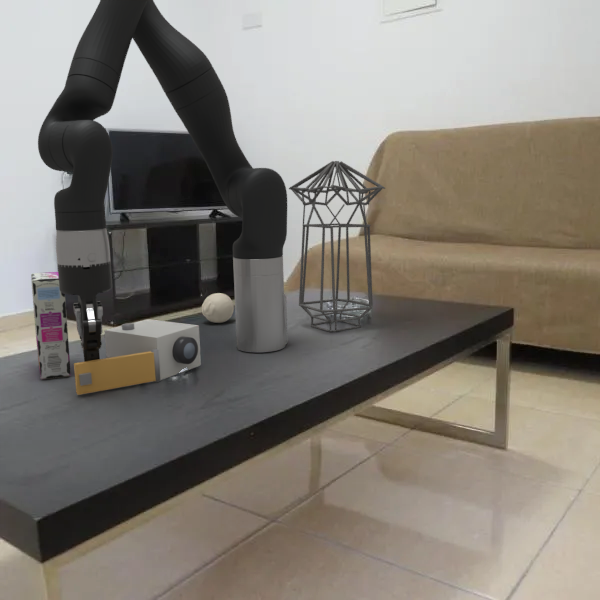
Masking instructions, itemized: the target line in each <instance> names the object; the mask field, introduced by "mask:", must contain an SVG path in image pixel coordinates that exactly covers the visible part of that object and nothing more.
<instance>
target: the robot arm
mask: <svg viewBox="0 0 600 600" xmlns="http://www.w3.org/2000/svg"><path fill="white" fill-rule="evenodd" d="M132 39H133V40H132ZM132 41H134V43H135V44H136V46H137V48H138V49H139V52H140V53H141V54H142V56H143V57H144V59H145V60H146V63H147V65H148V66H149V68H150V69H151V72H152V73H153V74H154V76H155V78H156V79H157V81H158V83H159V85H160V87H161V88H162V91H163V92H164V94H165V96H166V97H167V99H168V101H169V103H170V105H171V107H173V109H174V112H175V113H176V115H177V116H178V118H179V119H180V121H181V122H182V124H183V125H184V128H185V130H186V131H187V133H188V134H189V137H190V138H191V140H192V142H193V143H194V145H195V146H196V148H197V150H198V151H199V153H200V154H201V157H202V158H203V160H204V162H205V164H206V166H207V168H208V170H209V172H210V174H211V177H212V179H213V181H214V183H215V185H216V187H217V189H218V192H219V194H220V196H221V199H222V201H223V202H224V205H225V206H226V207H227V209H228V210H229V211H230V213H232V214H233V215H234V216H235V217H238V218H241V219H242V224H241V227H242V228H241V233H240V236H239V238H237V239H236V240H234V242H233V244H232V260H233V261H232V262H233V263H232V264H233V283H234V287H233V288H234V290H233V291H234V310H235V311H234V312H235V313H234V314H235V335H236V336H235V337H236V349H238V351H241V352H247V353H269V352H276V351H280V350H282V349H284V348H286V345H287V344H288V341H289V340H288V317H287V316H288V312H287V311H288V310H287V307H288V306H287V305H288V304H287V295H286V294H285V281H284V245H285V243H286V240H287V236H288V235H287V234H288V233H287V232H288V194H287V193H288V192H287V187H286V184H285V182H284V181H285V180H284V179H283V177H282V176H281V175H280V174H279V173H278V172H277V171H276V170H274V169H273V168H268V167H256V168H255V167H252V165H251V163H250V162H249V161H248V159H247V157H246V155H245V154H244V152H243V150H242V149H241V147H240V145H239V143H238V140H237V138H236V135H235V132H234V127H233V121H232V120H233V119H232V113H231V107H230V102H229V97H228V95H227V92H226V90H225V87H224V85H223V83H222V81H221V79H220V78H219V76H218V74H217V71H216V70H215V68H214V67H213V65H212V63H211V61H210V59H209V58H208V56H207V55H206V53H204V52H203V51H202V50H201V49H200V48H199V47H198V46H197V45H196V44H195V43H193V42H192V41H191V40H190V39H189V38H187V37H186V36H185V35H184V34H182V33H181V32H180V31H179V30H177V28H175V27H174V26H173V25H172V24H171V23H170V22H169V21H168V20H167V19H166V18H165V17H164V15H163V14H162V13H161V11H160V10H159V8H158V7H157V5H156V3H155V1H154V0H99V3H98V5H97V7H96V8H95V11H94V13H93V15H92V16H91V17H90V20H89V22H88V24H87V26H86V27H85V30H83V33H82V35H81V37H80V39H79V41H78V43H77V46H76V48H75V51H74V54H73V56H72V59H71V62H70V67H69V68H68V69H69V70H68V73H67V77H66V80H65V84H64V85H65V86H64V88H63V89H62V91H61V92H60V93H59V95H58V97H57V98H56V99H55V101H54V103H53V105H52V106H51V108H50V109H49V111H48V113H47V115H46V116H45V118H44V121H43V122H42V124H41V127H40V130H39V132H38V138H37V148H38V154H39V156H40V158H41V161H42V162H43V163H44V165H46V167H49V168H50V169H51V170H54V171H59V172H72V177H71V181H70V184H69V186H68V187H65V188H63V189H61V190H59V191H57V192H56V193H55V194H54V199H53V206H54V218H55V219H54V220H55V229H56V232H55V233H56V238H55V250H56V251H55V252H56V261H57V262H56V264H57V272H58V277H59V288H60V291H61V292H62V293H63V294H65V295H69V296H76V295H77V301H78V302H74V303H73V304H72V305H73V307H72V308H73V313H74V316H75V322H76V331H77V333H78V336H79V339H80V346H81V349H82V351H83V362H85V361H92V360H98V359H101V357H100V350H101V348H102V344H103V343H102V334H103V322H102V321H103V320H102V317H103V316H104V309H103V304H102V303H101V300H99V301H98V299H97V296H98V294H101V293H106V292H109V291H110V290H112V288H113V278H112V277H113V276H112V266H111V265H112V263H111V251H110V249H111V248H110V240H109V236H108V231H107V230H108V229H107V220H106V218H107V217H106V207H105V199H106V194H107V191H108V185H109V179H110V175H111V169H112V163H113V157H114V156H113V152H114V149H113V144H112V140H111V136H110V134H109V133H108V130H107V129H106V127H104V126H103V124H102V123H100V122H98V121H96V119H98V118H100V117H102V116H105V115H107V114H108V113H110V111H111V109H112V107H113V106H114V101H115V99H116V96H117V95H116V94H117V90H118V88H119V83H120V80H121V76H122V71H123V69H124V66H125V62H126V58H127V55H128V52H129V49H130V45H131V42H132Z"/></svg>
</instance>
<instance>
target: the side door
mask: <svg viewBox="0 0 600 600" xmlns="http://www.w3.org/2000/svg"><path fill="white" fill-rule="evenodd" d="M73 369H74V379H75V380H74V383H75V393H76V394H77V395H78V396H80V395H86V394H90V393H96V392H103V391H107V390H113V389H118V388H124V387H129V386H135V385H139V384H140V385H141V384H146V383H151V382H153V383H158V382H161V381H162V380H160V364H159V350H158V349H153V350H151V351H149V352H143V353H136V354H130V355H123V356H117V357H111V358H105V357H104V358H100V359H98V360H92V361H85V362H84V361H81V362H75V363H73Z"/></svg>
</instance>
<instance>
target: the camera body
mask: <svg viewBox="0 0 600 600" xmlns="http://www.w3.org/2000/svg"><path fill="white" fill-rule="evenodd" d="M103 331H104V342H105V344H104V345H105V356H106V358H111V357H117V356H123V355H130V354H136V353H143V352H149V351H151V350H153V349H158V350H159V364H160V380H161V381H162V380H165V379H167V378H170V377H173V376H175V375H178V374H177V373H179V372H180V371H181V370H182V369H184V368H186V367H187V368H188V369H189V370H193V369H195V368H198V367H201V365H202V363H201V362H202V361H201V343H200V341H201V340H200V325H197V324H189V323H184V322H183V323H181V322H174V321H166V320H165V321H164V320H156V319H150V318H147V319H143V320H140V321H135V322H126V323H125V322H124V323H123V324H121V325H119V326H115V327H112V328H108V329H105V330H103ZM179 374H180V373H179Z"/></svg>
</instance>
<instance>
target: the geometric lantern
mask: <svg viewBox="0 0 600 600" xmlns="http://www.w3.org/2000/svg"><path fill="white" fill-rule="evenodd" d="M355 175H356V176H358V177H359V178H362V179H363V180H365V181H366V182H369V183H370V184H371V185H374V186H373V187H367V186H365V185H364V184H363V183H362V182H361V181H360V180H359V179H358V178H357V177H356V176H355ZM336 176H337V177H336ZM345 177H346V178H347V180H348V181H349V183H351V185H352V186H353V187H354V188H350V187H349V186H348V184H347V180H346V179H345ZM313 178H314V179H313ZM332 178H333V180H332ZM336 178H337V182H338V185H336V184H335V181H336ZM311 179H312V181H311V182H310V183H309V184H308V185H307V186H305V187H300V186H302V185H303V184H305V183H306V182H308V181H310V180H311ZM326 185H327V186H326ZM324 189H325V190H324ZM383 189H384V190H385V189H386V187H385V186H383V185H381V184H380V183H379V182H376V181H375V180H373V179H372V178H370V177H368V176H367V175H365V174H363V173H362V172H360V171H358V170H357V169H354V168H353V167H352V166H350V165H348V164H346V162H343V161H341V160H335V161H334V160H332V161H330V162H329V163H327V164H326V165H324V166H322V167H321V168H319V169H317V170H316V171H314V172H313V173H311V174H309V175H308V176H306V177H305V178H303V179H301V180H299V181H298V182H296V183H295V184H293V185H292V186H290V187H289V188H288V190H291V191H292V192H293V194H294V195H295V196H296V197H297V198H298V200H300V202H301V203H302V206H303V212H302V213H303V214H302V215H303V216H302V232H301V234H302V235H301V236H302V237H301V256H300V274H299V275H300V277H299V292H298V293H299V295H298V296H299V298H298V306H299V307H301V309H303V311H304V312H305V313H306V314H307V315H308V316H310V327H311V328H315V329H318V330H322V331H325V332H329V333H337V332H341V331H342V332H343V331H347V330H348V331H349V330H352V329H359V328H361V327H362V326H361V319H362V318H363V317H364V316H365V315H367V314H369V312H370V311H371V310H372V309H373V307H374V303H373V300H374V299H373V279H372V277H373V275H372V251H371V247H372V246H371V226H372V225H371V224H368V223H367V217H366V215H367V214H366V206H369V205H370V202H372V201H373V199H374V198H376V196H377V195H378V194H380V192H381V191H382V190H383ZM342 191H343V192H346V193H345V194H346V199H345V198H344V197H343V196H342V194H341V193H340V192H342ZM329 192H334V194H332V196H331V197H330V198H328V195H329ZM305 193H307V195H306V194H305ZM310 193H312V194H314V196H313V198H311V194H310ZM321 193H325V198H324V199H325V200H324V202H319V201H317V198H318V196H320V194H321ZM354 193H358V197H357V196H356V195H355V194H354ZM349 194H350V196H351V197H352V198H353V199H354V201H351V202H350V197H349ZM364 194H367V195H365V196H364ZM336 196H338V198H339V199H340V200H341V201H342V202H343V204H342V206H341V207H340V209H339V210H338V211H337V213H336V214H334V213H333V211H332V210H331V209H330V207H329V206H328V205H329V204H330V203H331V202H332V200H333V199H334V198H335V197H336ZM305 199H307V200H308V202H306V201H305ZM365 200H366V202H365ZM310 205H311V206H312V207H311V209H310V213H309V215H308V216H309V217H308V220H307V222H306V224H305V217H306V215H305V213H306V207H307V206H310ZM316 205H320V206H326V208H327V209H328V210H329V212H330V214H331V215H332V216H333V219H331V221H330V223H324V221H323V219H322V217H321V215H320V213H319V211H318V209H317V207H316ZM353 205H356V206H355V208H354V210H353V211H352V213H351V215H350V216H349V218H348V220H347V222H346V223H340V221H339V220H338V219H337V217H338V215H339V214H340V213H341V211H342V210H343V208H344V207H345V206H353ZM358 208H359V209H360V213H361V215H362V220H363V222H364V224H362V223H350V222H351V221H352V219H353V217H354V216H355V213H356V211H357V210H358ZM314 212H315V214H316V216H317V218H318V220H319V222H320V223H311V224H310V222H311V219H312V216H313V213H314ZM335 220H336V222H337V223H333V222H334V221H335ZM310 227H311V228H322V232H321V233H322V234H321V235H322V236H321V237H322V238H321V259H320V260H321V261H320V262H321V265H320V267H321V268H320V293H319V294H320V295H319V296H320V297H319V300H312V301H305V288H306V286H305V285H306V278H307V276H306V275H307V261H308V260H307V259H308V245H309V235H310V234H309V233H310V231H309V230H310ZM334 228H338V232H337V233H338V235H337V255H336V257H337V258H336V259H337V260H336V262H337V263H336V276H335V253H334V252H335V251H334V250H335V249H334V248H335V246H334ZM342 228H345V245H346V254H345V255H346V293H347V295H346V298H347V299H343V298H339V287H340V285H339V284H340V283H339V281H340V260H341V258H340V257H341V239H342V238H341V235H342ZM349 228H363V233H364V248H365V264H366V266H365V267H366V280H367V296H368V297H367V298H368V303H366V302H362V301H357V300H352V299H350V298H351V297H350V296H351V295H350V293H351V292H350V291H351V289H350V249H349V247H350V246H349ZM326 229H330V258H331V259H330V260H331V262H330V263H331V289H332V290H331V291H332V295H331V297H332V298H331V299H324V278H325V276H324V275H325V273H324V272H325V249H326V248H325V245H326V243H325V242H326V240H325V239H326V238H325V237H326ZM335 277H336V281H335ZM335 282H336V284H335ZM331 302H332V309H323V305H324V304H323V303H331ZM338 302H344V303H345V304H344V306H343V307H342V308H341V309H340V308H339V309H338ZM349 303H350V304H351V303H352V304H355V305H361V306H362V307H351V308H346V307H347V305H348V304H349ZM312 304H313V305H315V304H319V308H316V307H313V306H309V305H312ZM363 306H364V307H363ZM309 310H312V311H315V312H318V314H312V313H311V312H310V311H309ZM354 311H356V312H357V311H363V312H362V313H361V315H356V314H351V313H347V312H354ZM345 312H346V313H345ZM319 313H320V314H319ZM328 315H333V319H332V320H331V319H330V318H329V317H328ZM337 315H339V319H337ZM321 316H323V318H322V317H321ZM342 316H348V317H351V318H343V319H342ZM324 317H325V318H324ZM314 319H316V320H321V321H323V322H314ZM354 320H357V322H358V323H354V322H351V321H354ZM337 322H338V323H339V322H341V323H345V324H349V325H352V326H351V327H345V328H339V329H337V328H338V327H337V325H338V324H337ZM332 323H334V329H333V330H332ZM322 324H323V325H324V324H329V329H326V328H323V327H320V326H317V325H322Z"/></svg>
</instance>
